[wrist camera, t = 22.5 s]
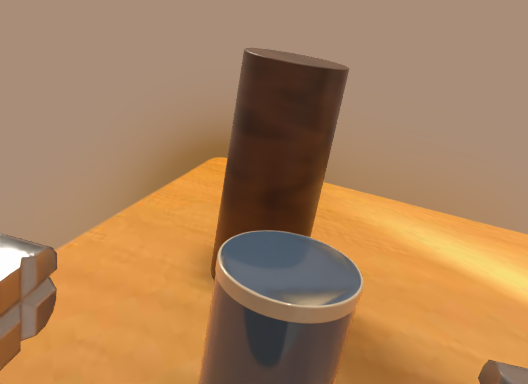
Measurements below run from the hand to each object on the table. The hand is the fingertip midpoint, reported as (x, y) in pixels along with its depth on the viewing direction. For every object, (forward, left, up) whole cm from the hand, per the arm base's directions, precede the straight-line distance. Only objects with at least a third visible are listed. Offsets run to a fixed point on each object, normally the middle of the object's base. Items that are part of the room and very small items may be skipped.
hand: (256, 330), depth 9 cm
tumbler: (+8, +9, -15) cm, 19 cm away
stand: (+16, +23, -15) cm, 32 cm away
